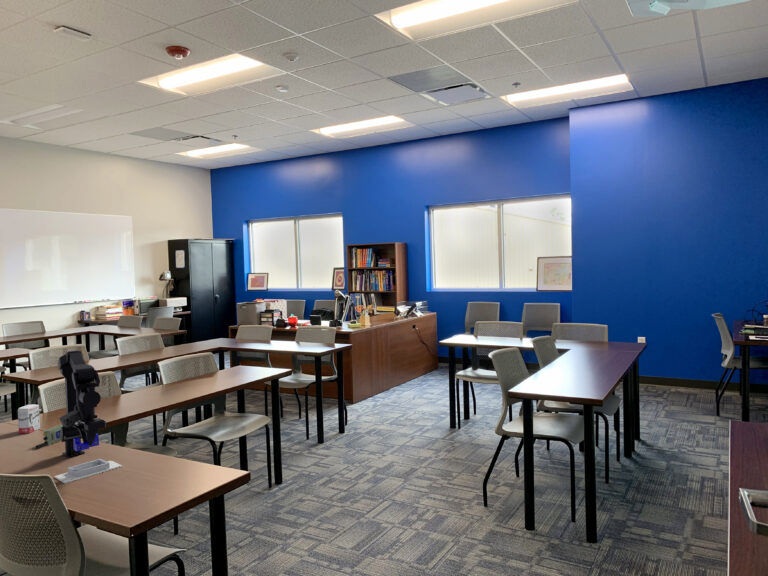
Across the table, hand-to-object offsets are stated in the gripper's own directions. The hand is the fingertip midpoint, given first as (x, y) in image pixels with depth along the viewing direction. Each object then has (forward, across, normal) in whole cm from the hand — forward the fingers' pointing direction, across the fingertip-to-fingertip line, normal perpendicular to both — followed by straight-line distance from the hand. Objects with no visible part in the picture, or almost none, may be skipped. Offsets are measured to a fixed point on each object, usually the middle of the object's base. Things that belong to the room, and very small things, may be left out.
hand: (87, 444), depth 207 cm
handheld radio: (+11, -52, +9) cm, 54 cm away
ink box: (+11, -80, +6) cm, 81 cm away
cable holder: (+1, 0, 0) cm, 1 cm away
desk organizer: (+10, 0, 0) cm, 10 cm away
